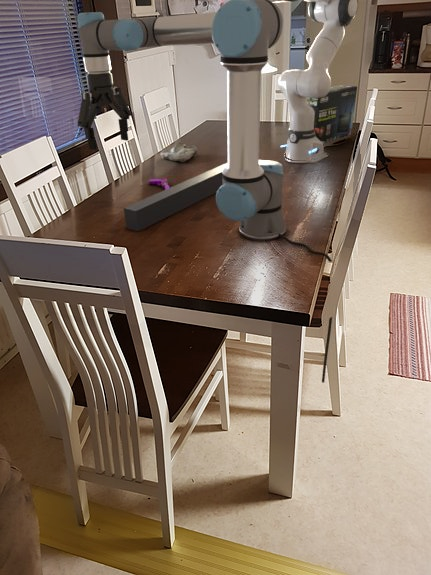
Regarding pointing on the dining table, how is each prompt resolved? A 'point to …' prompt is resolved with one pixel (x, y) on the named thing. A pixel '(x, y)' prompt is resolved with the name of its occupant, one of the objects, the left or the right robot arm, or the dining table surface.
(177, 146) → the fossil
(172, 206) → the bar
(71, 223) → the dining table surface
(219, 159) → the dining table surface
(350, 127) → the router box
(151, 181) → the handgun
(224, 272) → the dining table surface
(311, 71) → the right robot arm
